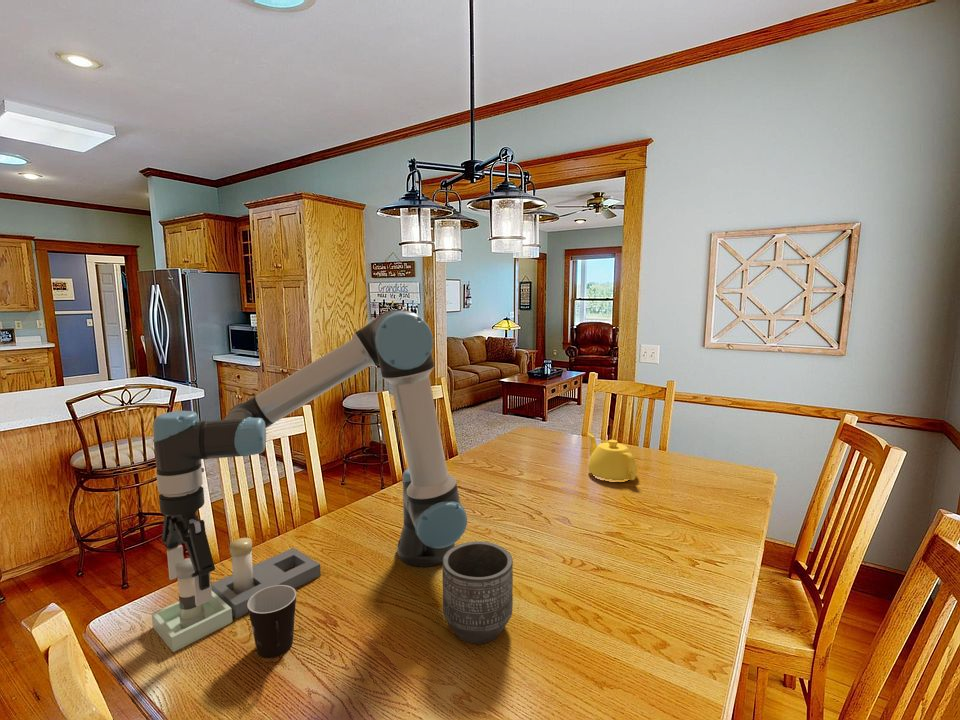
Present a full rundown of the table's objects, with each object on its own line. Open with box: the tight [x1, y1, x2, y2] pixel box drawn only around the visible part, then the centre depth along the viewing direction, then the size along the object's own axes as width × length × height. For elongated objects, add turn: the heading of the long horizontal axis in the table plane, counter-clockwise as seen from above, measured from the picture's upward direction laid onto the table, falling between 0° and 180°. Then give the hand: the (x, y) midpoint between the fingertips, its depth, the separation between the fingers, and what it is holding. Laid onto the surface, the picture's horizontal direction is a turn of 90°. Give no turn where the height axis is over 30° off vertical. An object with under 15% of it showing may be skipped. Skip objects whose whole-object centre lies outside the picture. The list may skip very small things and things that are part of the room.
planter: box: [442, 540, 514, 645], centre depth 97 cm, size 14×14×15 cm
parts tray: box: [151, 590, 233, 653], centre depth 98 cm, size 11×11×3 cm
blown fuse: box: [175, 557, 205, 629], centre depth 97 cm, size 4×4×13 cm
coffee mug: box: [247, 585, 297, 659], centre depth 90 cm, size 12×9×10 cm
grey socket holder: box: [211, 537, 322, 619], centre depth 111 cm, size 12×20×13 cm, turn 141°
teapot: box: [587, 432, 637, 481], centre depth 181 cm, size 25×18×14 cm
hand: (190, 589), depth 97 cm, fingers open, 13 cm apart
